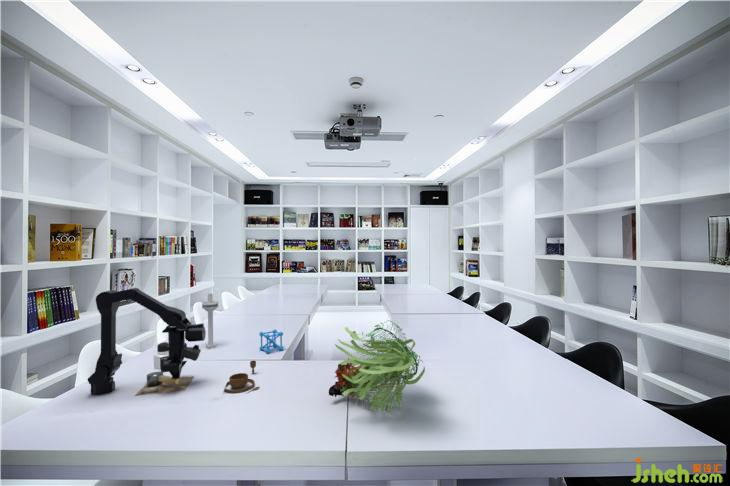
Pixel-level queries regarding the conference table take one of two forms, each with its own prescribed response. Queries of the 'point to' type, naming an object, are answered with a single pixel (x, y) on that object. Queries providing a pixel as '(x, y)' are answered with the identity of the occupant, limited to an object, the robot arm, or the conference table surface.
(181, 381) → the base plate
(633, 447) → the conference table surface
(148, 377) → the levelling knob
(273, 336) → the molecular structure
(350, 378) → the plant
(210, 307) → the model tower
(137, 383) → the conference table surface
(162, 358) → the medicine bottle
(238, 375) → the place setting
